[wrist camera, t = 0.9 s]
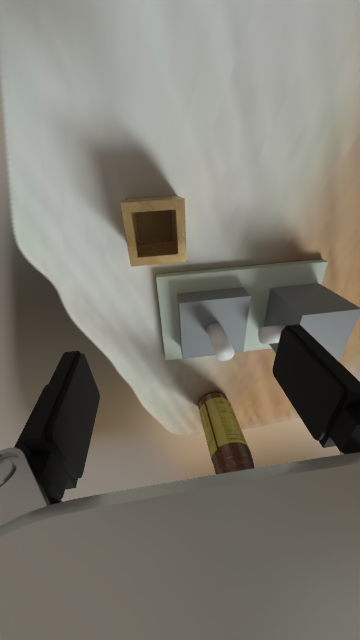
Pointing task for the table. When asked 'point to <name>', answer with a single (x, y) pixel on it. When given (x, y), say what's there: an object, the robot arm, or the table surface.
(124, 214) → the hollow wooden square tube
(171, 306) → the coupling rig
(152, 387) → the table surface
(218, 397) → the sauce bottle
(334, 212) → the table surface
